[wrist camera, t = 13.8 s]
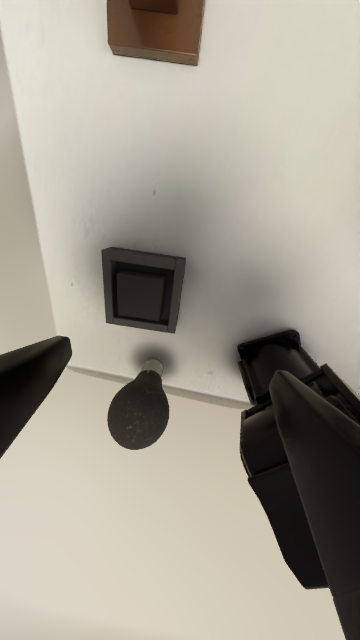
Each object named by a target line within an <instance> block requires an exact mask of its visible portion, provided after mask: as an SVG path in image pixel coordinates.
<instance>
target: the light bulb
mask: <svg viewBox="0 0 360 640" xmlns="http://www.w3.org/2000/svg"><path fill="white" fill-rule="evenodd" d="M162 372H163V366H162V364H161V363H160V362H159V361H157V360H148V361H146V362H145V363H144V365H143V367H142V370H141V372H140V373H139V374H138V376H137V377H136V379H135V380H133V381H132V382H130V383H128V384H127V385H125V386H124V387H123V388H122V389H121V390H120V391H119V392H118V393H117V394H116V395H115V397H114V398H113V400H112V402H111V404H110V407H109V411H108V420H107V421H108V427H109V431H110V433H111V436H112V437H113V438H114V440H115V441H116V442H117V443H118V444H119V445H120V446H122V447H124V448H127V449H131V450H138V449H143V448H146V447H148V446H150V445H152V444H153V443H155V442H156V441H157V440H158V439H159V438H160V436H161V435H162V434H163V432H164V430H165V428H166V426H167V423H168V419H169V405H168V400H167V397H166V394H165V392H164V390H163V388H162V379H161V376H162Z"/></svg>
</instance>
